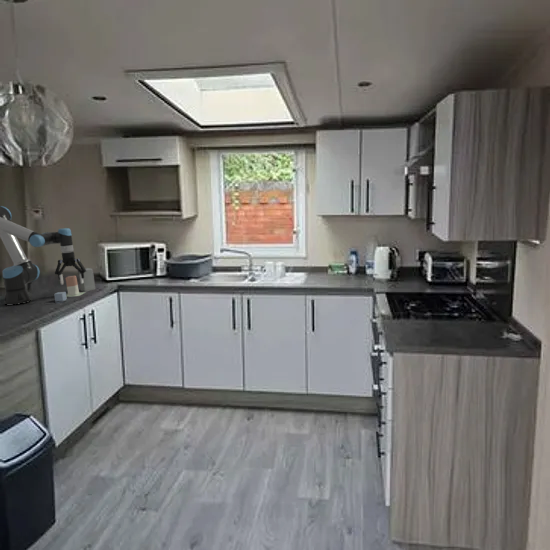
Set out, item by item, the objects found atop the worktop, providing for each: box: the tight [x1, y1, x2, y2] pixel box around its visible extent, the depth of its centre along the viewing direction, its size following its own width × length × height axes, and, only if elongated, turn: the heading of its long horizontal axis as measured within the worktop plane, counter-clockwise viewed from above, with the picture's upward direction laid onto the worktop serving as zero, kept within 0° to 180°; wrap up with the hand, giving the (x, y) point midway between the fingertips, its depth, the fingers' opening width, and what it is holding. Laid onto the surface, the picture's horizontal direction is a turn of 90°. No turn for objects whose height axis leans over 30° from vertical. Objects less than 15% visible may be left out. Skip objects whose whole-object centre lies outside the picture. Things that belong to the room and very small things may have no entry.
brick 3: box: [66, 285, 80, 296], centre depth 320 cm, size 5×5×6 cm
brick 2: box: [64, 275, 79, 288], centre depth 319 cm, size 5×5×6 cm
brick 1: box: [53, 291, 67, 304], centre depth 305 cm, size 5×5×6 cm
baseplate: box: [66, 291, 87, 298], centre depth 321 cm, size 12×12×1 cm
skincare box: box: [77, 267, 96, 292], centre depth 332 cm, size 8×7×16 cm
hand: (72, 283), depth 319 cm, fingers open, 13 cm apart
